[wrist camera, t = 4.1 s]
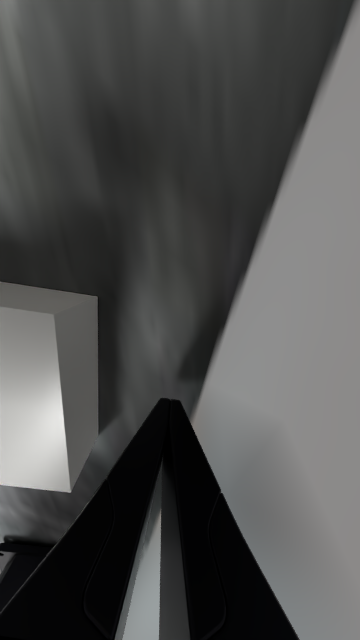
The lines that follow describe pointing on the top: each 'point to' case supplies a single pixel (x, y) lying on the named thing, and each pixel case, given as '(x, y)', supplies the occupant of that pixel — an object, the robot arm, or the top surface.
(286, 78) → the top surface
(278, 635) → the robot arm
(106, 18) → the top surface
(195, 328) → the top surface
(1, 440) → the white flat block
